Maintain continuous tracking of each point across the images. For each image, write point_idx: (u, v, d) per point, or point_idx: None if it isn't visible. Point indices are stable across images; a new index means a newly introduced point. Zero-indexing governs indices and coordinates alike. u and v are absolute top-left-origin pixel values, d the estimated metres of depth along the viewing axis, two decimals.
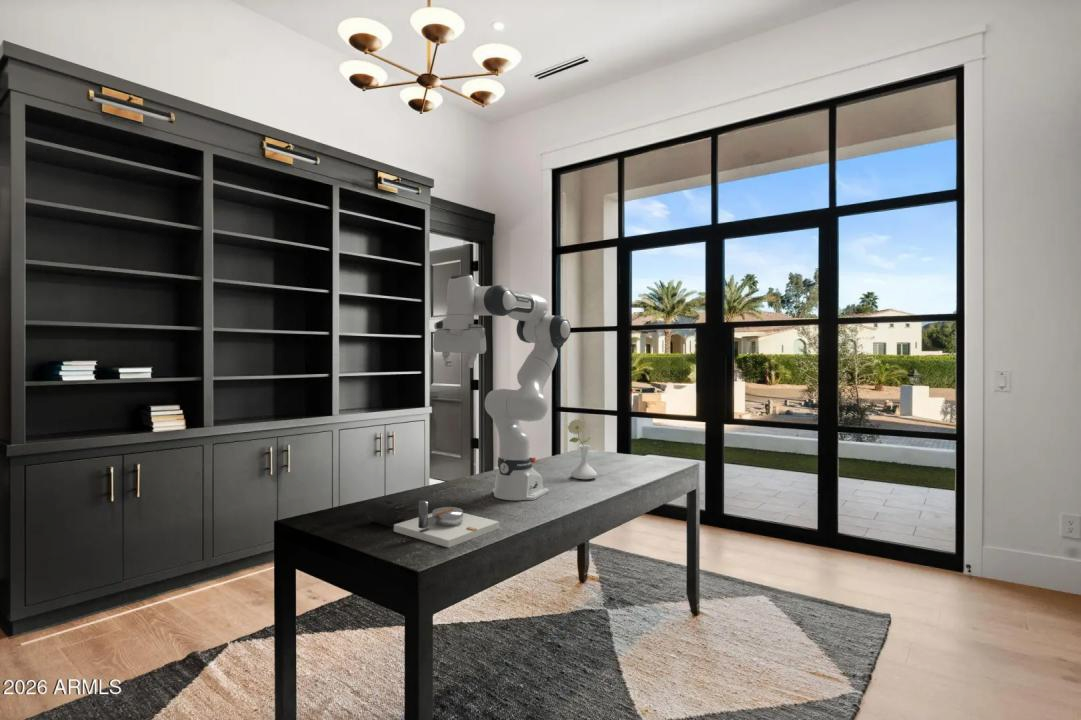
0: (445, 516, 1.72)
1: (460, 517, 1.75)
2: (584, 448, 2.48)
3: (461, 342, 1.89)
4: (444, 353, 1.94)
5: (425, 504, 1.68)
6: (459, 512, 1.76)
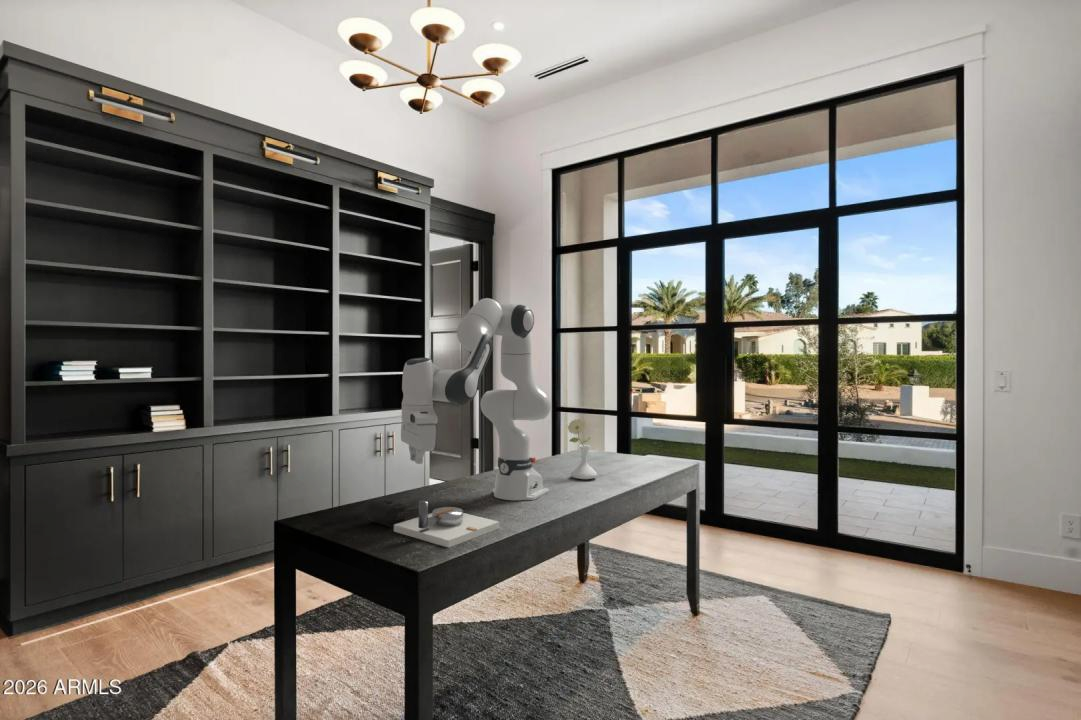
0: (445, 516, 1.72)
1: (460, 517, 1.75)
2: (584, 448, 2.48)
3: None
4: None
5: (425, 504, 1.68)
6: (459, 512, 1.76)
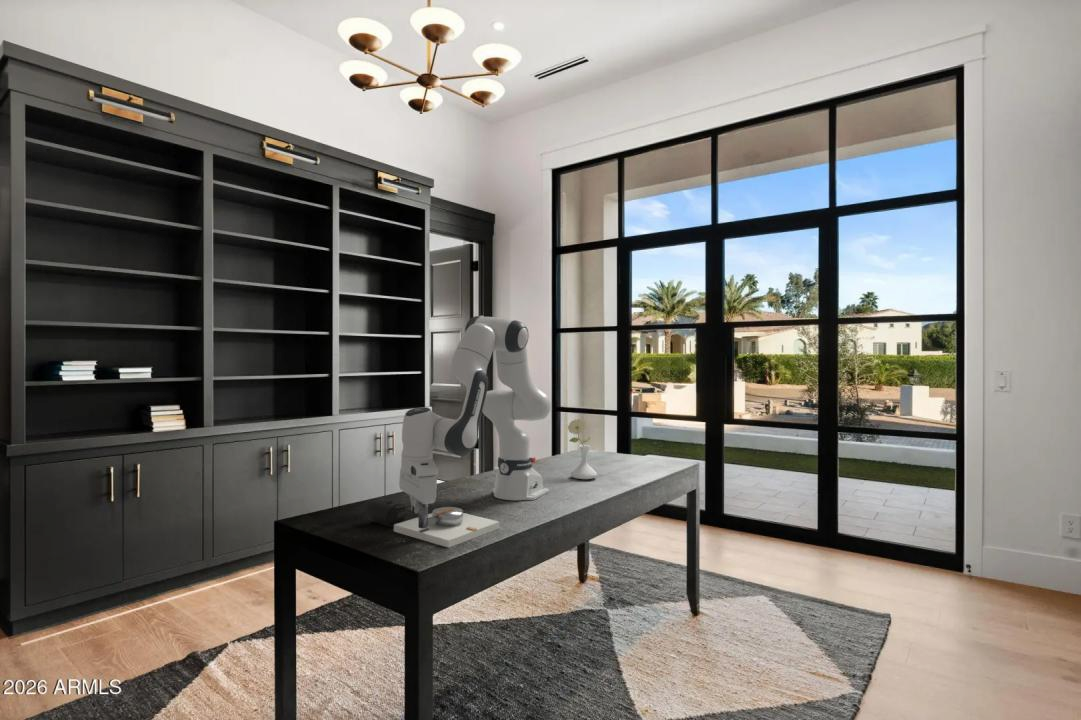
0: (445, 516, 1.72)
1: (460, 517, 1.75)
2: (584, 448, 2.48)
3: None
4: None
5: (425, 504, 1.68)
6: (459, 512, 1.76)
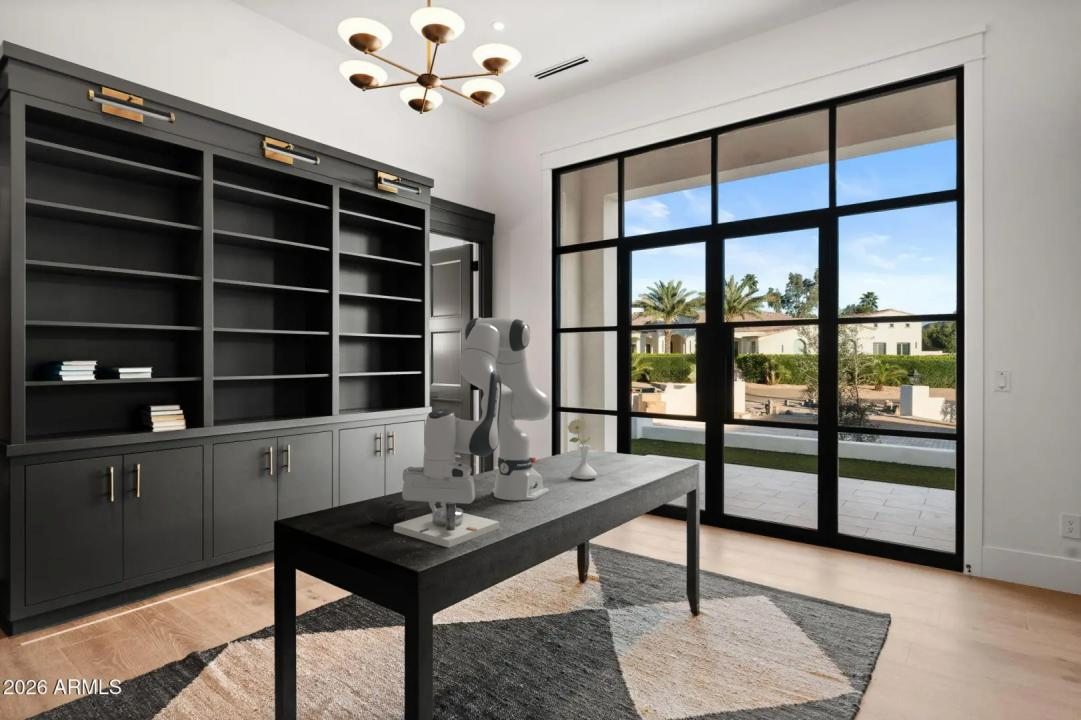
0: (458, 515, 1.74)
1: None
2: (584, 448, 2.48)
3: None
4: None
5: (455, 505, 1.67)
6: (459, 509, 1.79)
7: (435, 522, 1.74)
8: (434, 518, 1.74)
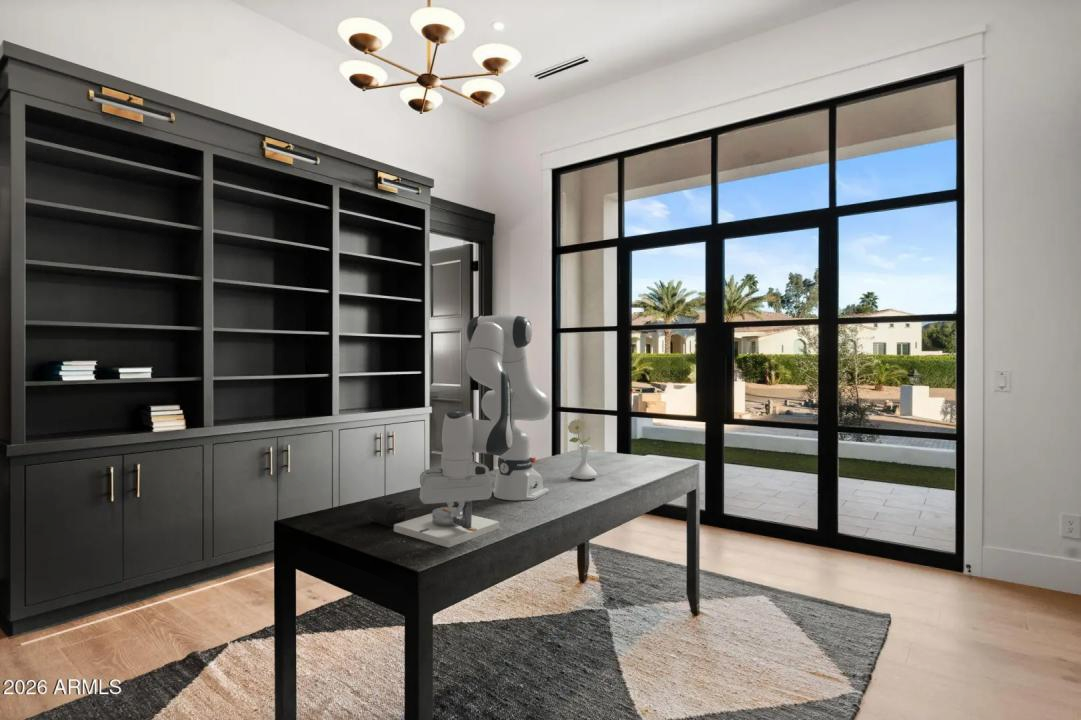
0: (462, 513, 1.76)
1: None
2: (584, 448, 2.48)
3: None
4: None
5: None
6: (455, 508, 1.80)
7: (441, 523, 1.73)
8: (439, 519, 1.73)
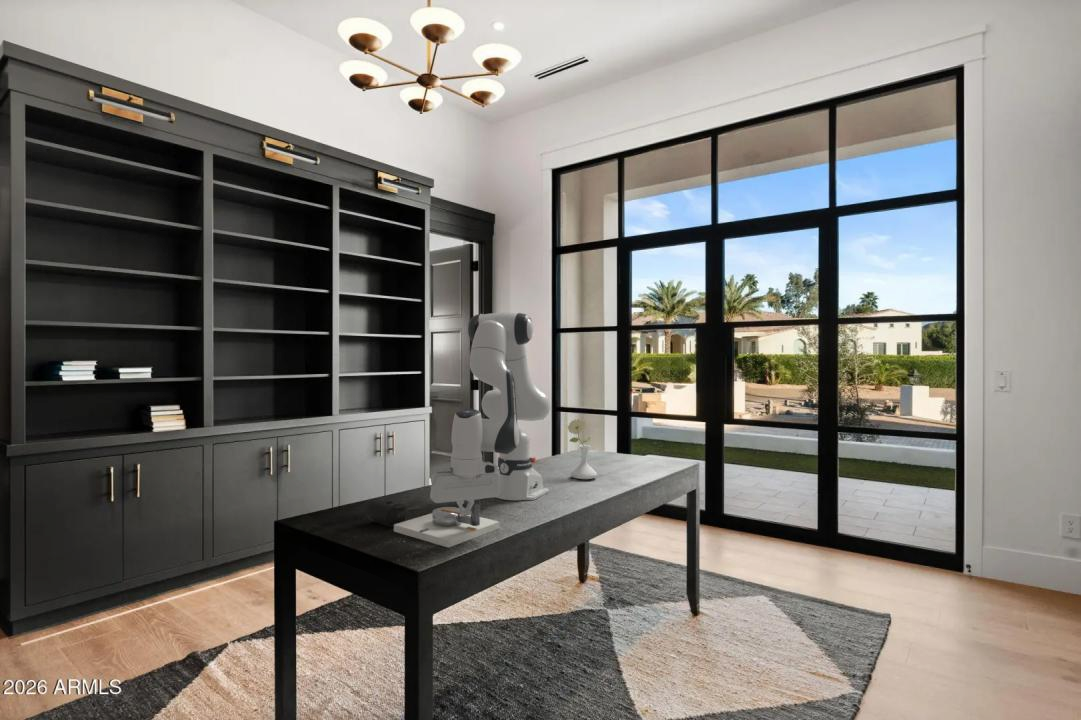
0: None
1: None
2: (584, 448, 2.48)
3: None
4: None
5: None
6: (451, 507, 1.81)
7: (446, 524, 1.73)
8: (444, 520, 1.72)
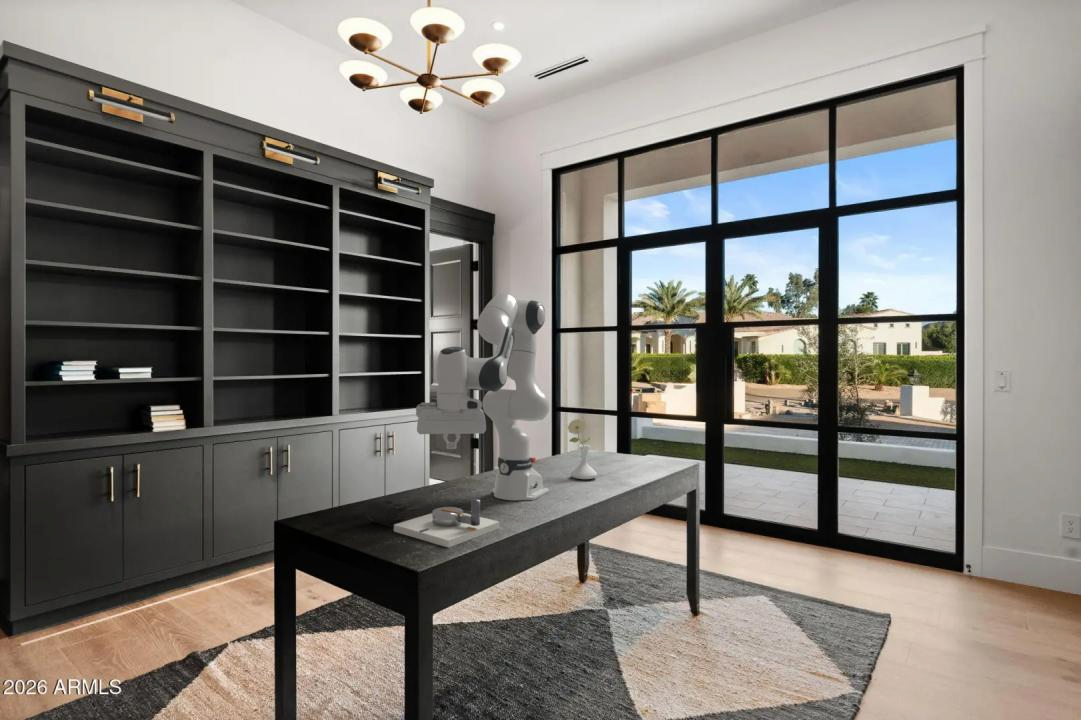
0: None
1: None
2: (584, 448, 2.48)
3: None
4: None
5: None
6: (451, 507, 1.81)
7: (446, 524, 1.73)
8: (444, 520, 1.72)
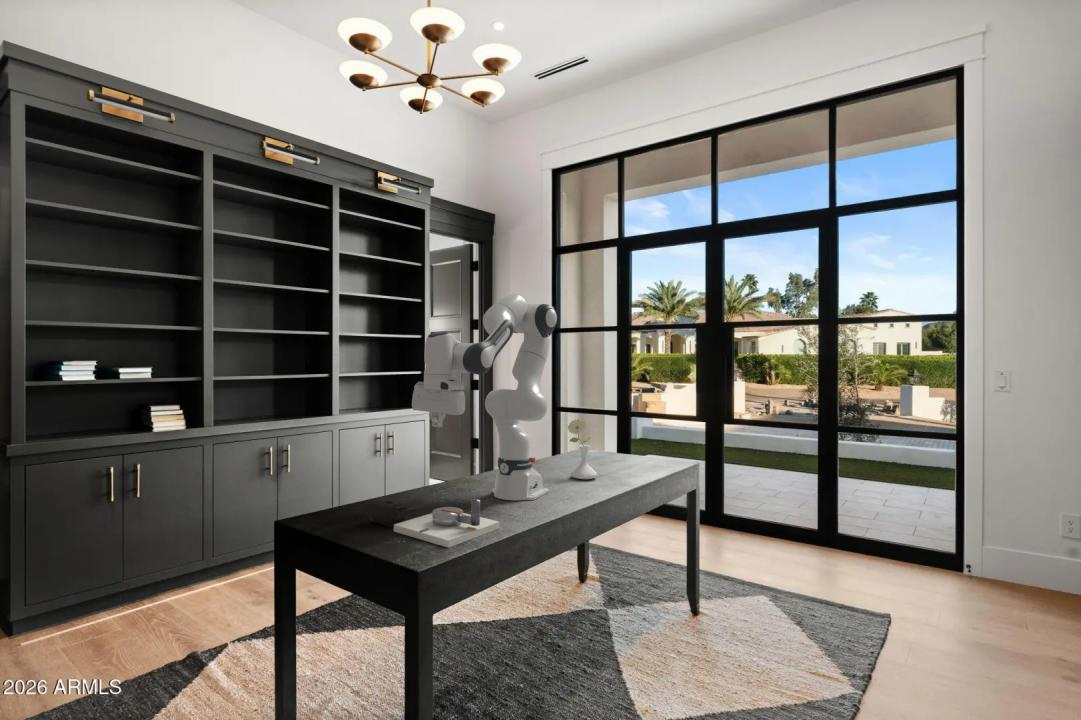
0: None
1: None
2: (584, 448, 2.48)
3: None
4: None
5: None
6: (451, 507, 1.81)
7: (446, 524, 1.73)
8: (444, 520, 1.72)
